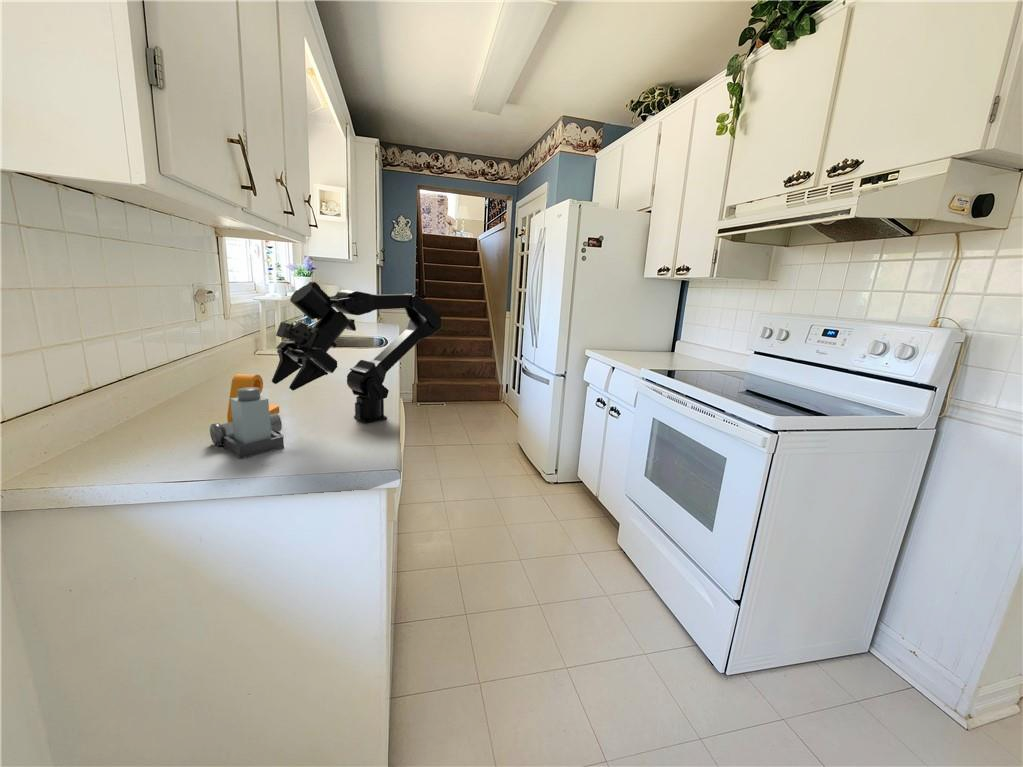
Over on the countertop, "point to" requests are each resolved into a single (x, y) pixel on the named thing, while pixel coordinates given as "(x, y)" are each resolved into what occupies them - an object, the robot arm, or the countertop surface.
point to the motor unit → (225, 437)
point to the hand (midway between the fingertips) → (282, 386)
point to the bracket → (244, 382)
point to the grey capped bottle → (250, 416)
